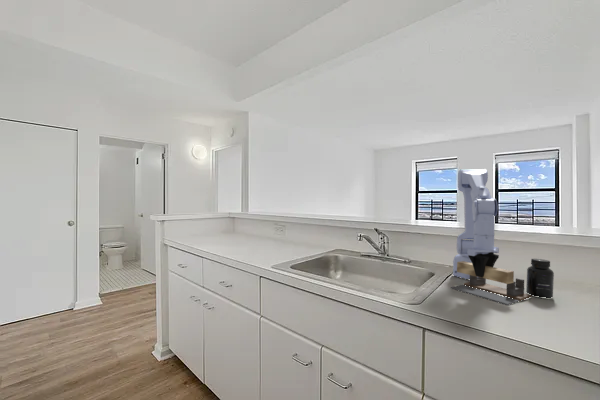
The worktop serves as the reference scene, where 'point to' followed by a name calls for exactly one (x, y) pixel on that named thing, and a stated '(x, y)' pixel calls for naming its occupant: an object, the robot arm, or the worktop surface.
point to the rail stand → (511, 290)
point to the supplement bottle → (540, 278)
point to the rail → (487, 272)
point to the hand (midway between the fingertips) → (483, 276)
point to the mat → (485, 294)
